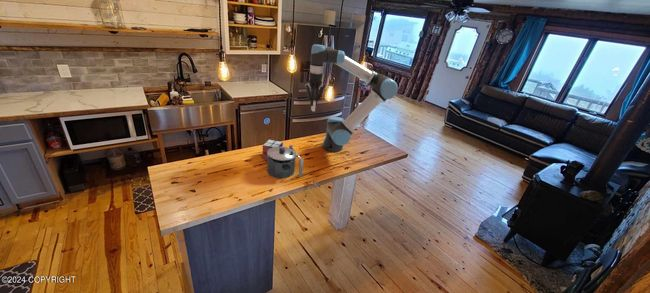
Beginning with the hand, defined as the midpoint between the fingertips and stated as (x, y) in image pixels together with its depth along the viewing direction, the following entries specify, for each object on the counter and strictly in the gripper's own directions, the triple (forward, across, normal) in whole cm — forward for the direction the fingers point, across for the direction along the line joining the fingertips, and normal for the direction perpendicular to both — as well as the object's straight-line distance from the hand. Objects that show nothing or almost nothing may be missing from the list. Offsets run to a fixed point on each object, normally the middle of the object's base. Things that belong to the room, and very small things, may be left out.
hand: (313, 110), depth 169 cm
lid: (+22, +23, +13) cm, 34 cm away
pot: (+32, +24, +13) cm, 42 cm away
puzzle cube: (+33, +24, -5) cm, 41 cm away
